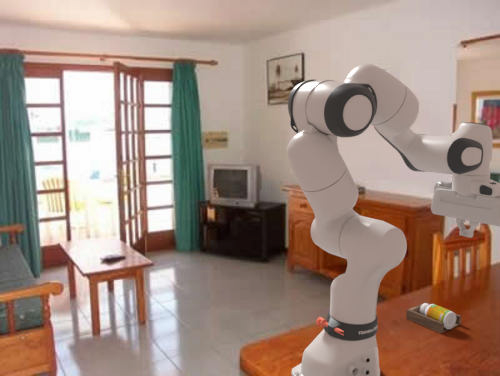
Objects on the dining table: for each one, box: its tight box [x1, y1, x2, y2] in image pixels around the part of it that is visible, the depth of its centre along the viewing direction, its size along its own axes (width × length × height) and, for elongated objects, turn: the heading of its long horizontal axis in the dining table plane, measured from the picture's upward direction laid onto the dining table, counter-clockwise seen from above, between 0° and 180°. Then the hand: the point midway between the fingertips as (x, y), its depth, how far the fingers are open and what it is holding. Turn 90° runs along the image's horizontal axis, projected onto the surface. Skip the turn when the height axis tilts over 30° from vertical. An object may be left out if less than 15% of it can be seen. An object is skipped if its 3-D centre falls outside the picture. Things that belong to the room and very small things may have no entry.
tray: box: [405, 302, 462, 334], centre depth 139 cm, size 10×12×3 cm
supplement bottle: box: [420, 302, 457, 330], centre depth 137 cm, size 5×5×10 cm
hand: (466, 236), depth 120 cm, fingers closed
